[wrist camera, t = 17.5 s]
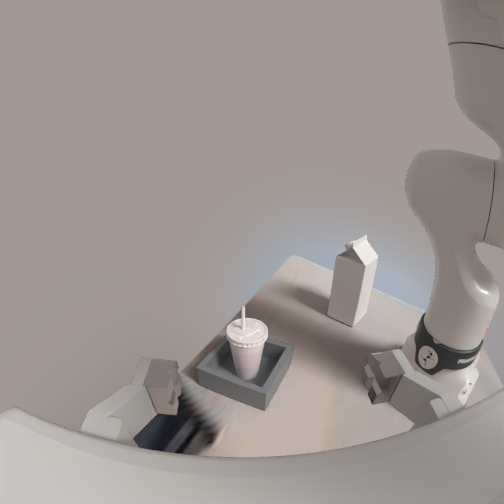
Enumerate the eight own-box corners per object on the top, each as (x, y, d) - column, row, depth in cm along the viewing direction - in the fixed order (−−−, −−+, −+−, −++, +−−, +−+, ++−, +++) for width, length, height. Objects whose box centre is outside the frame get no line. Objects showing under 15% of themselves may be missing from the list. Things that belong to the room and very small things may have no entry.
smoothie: (226, 361, 47) (222, 295, 41) (261, 357, 48) (264, 292, 42) (230, 387, 41) (226, 320, 35) (269, 383, 42) (274, 316, 36)
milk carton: (365, 314, 61) (381, 239, 54) (352, 327, 56) (369, 247, 49) (341, 303, 66) (352, 231, 58) (326, 315, 61) (337, 237, 54)
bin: (233, 345, 52) (232, 327, 50) (291, 363, 47) (293, 345, 45) (199, 384, 42) (195, 367, 40) (264, 410, 37) (266, 394, 35)
